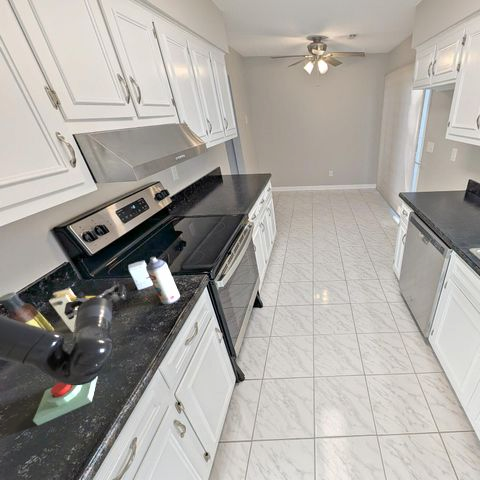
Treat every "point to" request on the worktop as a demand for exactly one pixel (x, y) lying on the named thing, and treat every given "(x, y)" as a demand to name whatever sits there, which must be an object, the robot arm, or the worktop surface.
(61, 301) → the lock bracket
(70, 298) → the lever
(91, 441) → the worktop surface
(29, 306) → the sauce bottle
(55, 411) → the box
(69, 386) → the release button
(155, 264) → the aerosol can
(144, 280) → the cosmetic box
